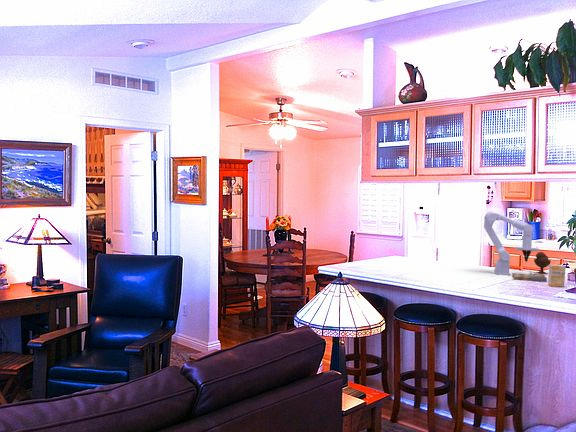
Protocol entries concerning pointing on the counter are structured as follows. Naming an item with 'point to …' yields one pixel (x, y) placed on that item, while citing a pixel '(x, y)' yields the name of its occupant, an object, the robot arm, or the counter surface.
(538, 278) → the tray
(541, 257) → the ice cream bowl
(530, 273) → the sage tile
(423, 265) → the counter surface
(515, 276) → the walnut board
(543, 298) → the counter surface
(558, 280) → the supplement box
